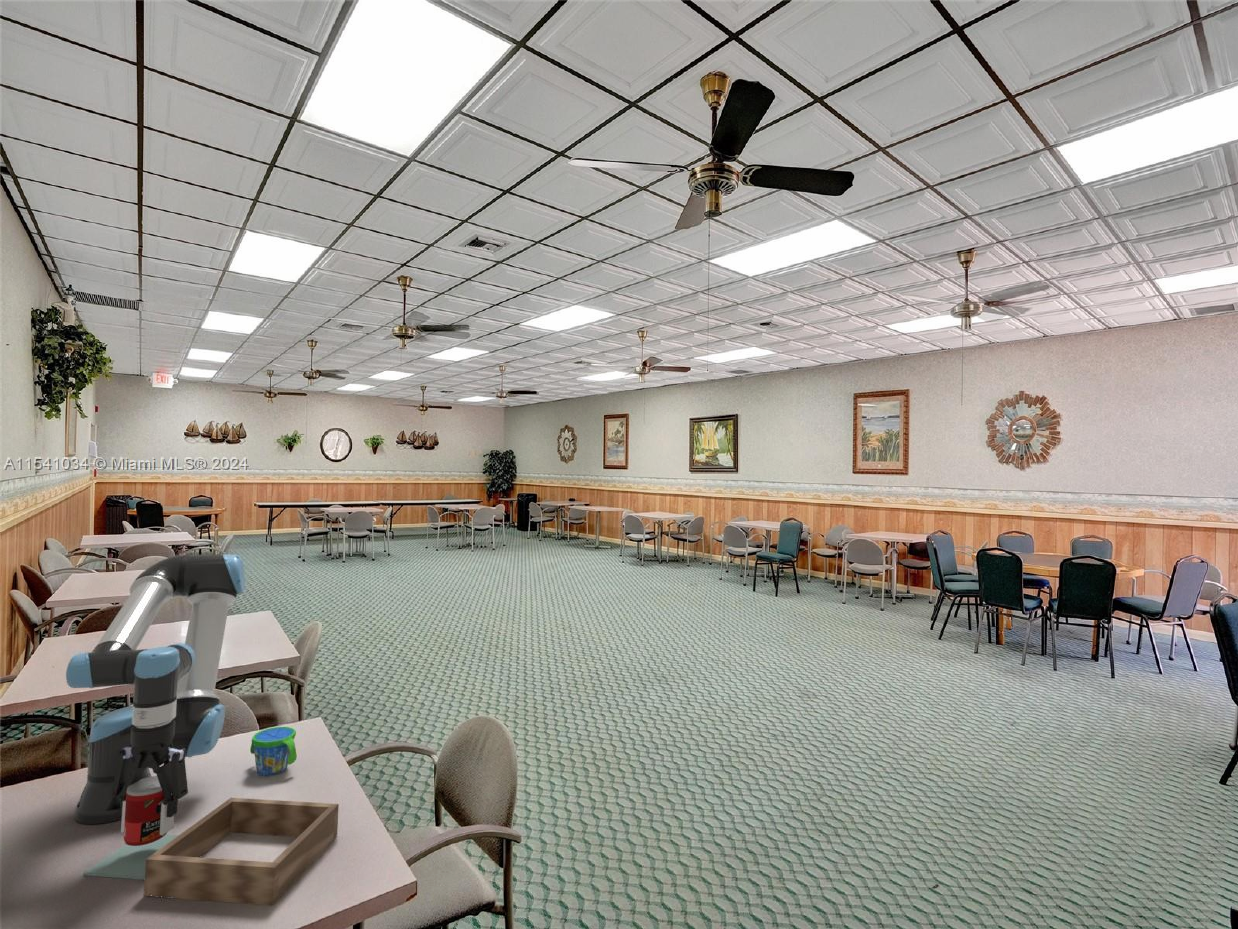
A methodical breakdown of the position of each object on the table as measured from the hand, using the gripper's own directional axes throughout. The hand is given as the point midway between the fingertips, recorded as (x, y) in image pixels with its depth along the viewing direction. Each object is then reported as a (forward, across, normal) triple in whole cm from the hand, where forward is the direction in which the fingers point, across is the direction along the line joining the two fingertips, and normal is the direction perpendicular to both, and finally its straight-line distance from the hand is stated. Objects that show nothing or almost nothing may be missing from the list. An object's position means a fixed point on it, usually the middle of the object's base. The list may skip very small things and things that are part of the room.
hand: (147, 830), depth 126 cm
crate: (+6, +23, 0) cm, 24 cm away
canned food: (+1, 0, 0) cm, 1 cm away
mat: (+6, 0, 0) cm, 6 cm away
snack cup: (+6, +2, +39) cm, 40 cm away
